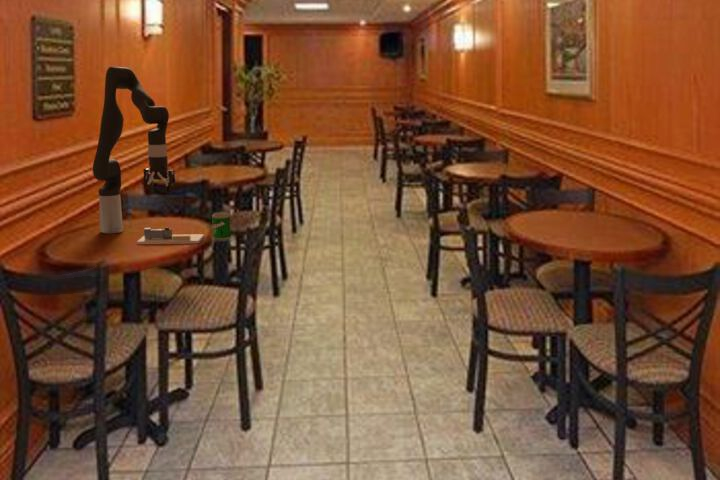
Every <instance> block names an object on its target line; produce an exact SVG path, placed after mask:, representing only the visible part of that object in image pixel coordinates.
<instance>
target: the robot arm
mask: <svg viewBox="0 0 720 480" xmlns="http://www.w3.org/2000/svg"><path fill="white" fill-rule="evenodd" d="M117 89H119V90H129V91H130V92H131V94H130V98H131V101H132V103H133V105H134V106H135V107H136V108H137V109H138V111H139V113H140V115H141V118H142V120H143V122H145V123H146V124H148V125H155V124H156V127H155V128H153V129H151V130H149V131H148V132H147V139H148V140H147V142H148V148H147V151H148V152H147V153H148V167H147V168H143V183H144V184H147V186H148V188H147V189H148V193H149V194H154V193H155V184H154V182H155V181H157V180H159V181H162V182H163V183H164V184H165V193H166V195H167V196H169V195H171V194H172V186H173V185H175V184H176V176H175V169H168V165H169V164H168V163H169V162H168V147H167V142H166V141H167V140H166V138H167V137H166V135H167V133H166V132H167V128H168V123H169V117H170V115H169V113H170V112H169V111H168V109H167V108H166V107H165V106H164V105H159V106H158V105H157V106H156V103H155V101H154V99H153V98H152V97H151V96H150V95H149V94H148V93H147V92H146V91H145V90H144V88H143V86H142V85H141V82H140V81H139V79H138V78H137V76H136V74H135V73H134V71H133V70H132V68H129V67H126V66H125V67H123V66H110V67H108V68H107V70H106V72H105V82H104V96H103V97H104V98H103V99H104V100H103V107H102V108H103V109H102V114H101V119H100V129H99V136H98V143H97V147H96V152H95V156H94V159H93V164H92V174H93V177H94V178H95V180H97V181H103V182H104V184H103V185H102V186H101V187H99V189H98V199H99V200H98V202H99V211H98V218H99V219H98V221H99V230H100V232H101V233H103V234H108V235H110V234H118V233H122V232H123V230H124V227H123V214H122V213H123V212H122V202H121V201H122V200H121V188H122V172H121V171H122V169H121V166H120V162H119V161H118V160H117V159H115V158H110V157H111V153H112V150H113V149H114V147H115V146H116V144H117V143H118V141H119V140H120V137H121V136H122V133H123V128H124V116H123V113H122V110H121V108H120V107H119V105H118V102H117V101H118V100H117Z"/></svg>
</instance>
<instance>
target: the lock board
mask: <svg viewBox="0 0 720 480" xmlns="http://www.w3.org/2000/svg"><path fill="white" fill-rule="evenodd" d="M172 236H173V238H170V239H164V238H153V239H145V237H144V235H143V236H141V238H140V239H138V240H137V241H136V245H173V244H174V245H175V244H176V245H178V244H181V245H183V244H184V245H185V244H193V245H194V244H199V243H201V241H202V240H203V239H204V238H205V234H204V233H203V234H202V233H200V234H199V233H197V234H196V233H195V234H193V233H191V234H186V233H185V234H172Z"/></svg>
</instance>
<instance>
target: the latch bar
mask: <svg viewBox="0 0 720 480" xmlns="http://www.w3.org/2000/svg"><path fill="white" fill-rule="evenodd" d="M143 232H144V233H143V234H144V235H143V236H144V237H145V239H153V238H164V239H170V238H173V236H172V235H173V229H172V228H170V227H164V228H157V229H156V228H151V227H144V228H143Z"/></svg>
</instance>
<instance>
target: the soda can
mask: <svg viewBox="0 0 720 480" xmlns="http://www.w3.org/2000/svg"><path fill="white" fill-rule="evenodd" d="M230 216H231V215H230V214H229V212H227V211H216V212H213V214H211V222H212V224H211V225H212V226H211V227H212V238H213V240H214V241H215V242H229V240H230V239H231V235H232V234H231V217H230Z"/></svg>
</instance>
